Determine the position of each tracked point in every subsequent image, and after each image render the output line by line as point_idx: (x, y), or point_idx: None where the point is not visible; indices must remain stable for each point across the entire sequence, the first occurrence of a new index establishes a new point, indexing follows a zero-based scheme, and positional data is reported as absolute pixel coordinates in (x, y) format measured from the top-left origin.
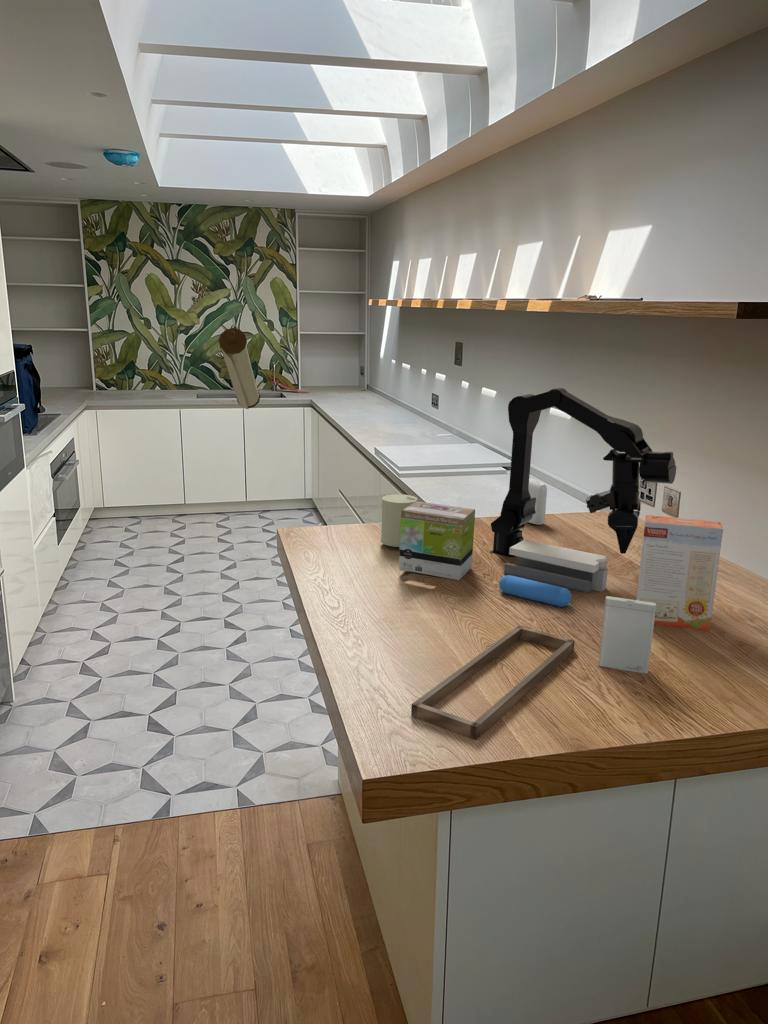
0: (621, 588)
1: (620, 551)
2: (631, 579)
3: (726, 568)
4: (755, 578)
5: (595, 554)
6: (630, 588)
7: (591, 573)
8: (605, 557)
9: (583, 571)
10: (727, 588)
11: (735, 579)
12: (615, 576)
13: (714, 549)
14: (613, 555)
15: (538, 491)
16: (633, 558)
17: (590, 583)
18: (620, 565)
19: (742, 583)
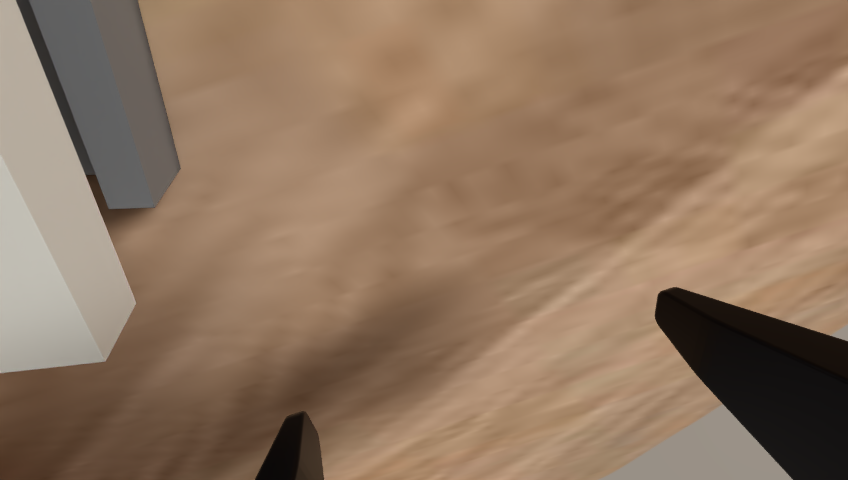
0: (217, 288)
1: (277, 435)
2: (409, 272)
3: (679, 415)
4: (610, 472)
5: (22, 241)
6: (259, 317)
7: (86, 131)
8: (41, 362)
9: (50, 40)
10: (494, 476)
11: (585, 457)
12: (408, 193)
13: None
14: (808, 48)
15: None
16: (757, 166)
17: (65, 124)
18: (624, 149)
19: (557, 475)
